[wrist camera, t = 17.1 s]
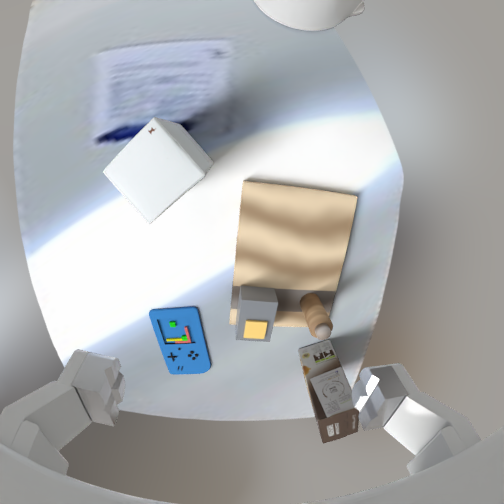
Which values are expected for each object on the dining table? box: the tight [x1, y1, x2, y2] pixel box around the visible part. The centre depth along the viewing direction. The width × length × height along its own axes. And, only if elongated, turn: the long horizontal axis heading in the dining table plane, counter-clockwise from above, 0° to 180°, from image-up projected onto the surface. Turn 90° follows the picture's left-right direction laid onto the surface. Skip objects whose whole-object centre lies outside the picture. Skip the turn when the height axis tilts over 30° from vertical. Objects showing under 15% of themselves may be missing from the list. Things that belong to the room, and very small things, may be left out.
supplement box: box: [103, 117, 213, 224], centre depth 29 cm, size 7×7×13 cm
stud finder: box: [236, 285, 278, 342], centre depth 40 cm, size 7×5×4 cm
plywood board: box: [230, 181, 357, 327], centre depth 41 cm, size 22×16×1 cm
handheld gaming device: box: [149, 307, 211, 374], centre depth 46 cm, size 8×1×15 cm
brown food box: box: [298, 340, 359, 443], centre depth 42 cm, size 9×6×16 cm
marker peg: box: [299, 293, 333, 340], centre depth 39 cm, size 3×3×8 cm
